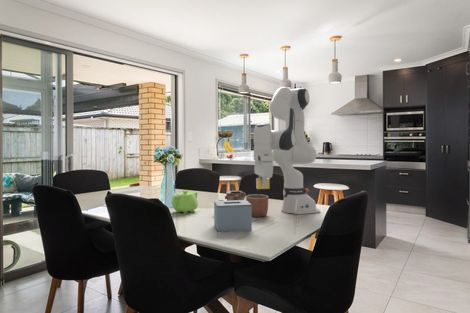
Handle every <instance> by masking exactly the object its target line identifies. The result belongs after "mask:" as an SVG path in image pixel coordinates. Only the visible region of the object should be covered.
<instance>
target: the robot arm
mask: <svg viewBox="0 0 470 313" xmlns="http://www.w3.org/2000/svg"><path fill="white" fill-rule="evenodd" d="M309 103H310V93H309V91H308V90H307V89H306V88H303V87H301V88H294V89H293V88H292V89H290V88H289V87H286V86H281V87H279V88H278V89H277V90H276V91H275V92H274V94H273V95H272V98H271V100H270V104H269V111H270V114H271V116H273V117H274V118H275V119H277V120H281V121H284V122H285V128H284V129H282V130H281V129H278V130H277V129H276V130H272V126H271V124H270V123H268V122H263V123H262V122H261V123H256V124H255V126H254V129H253V145H254V146H253V161H254V169H253V170H254V174H255V175H257V176H258V178H262V186H266V181H267V178H269V179H271V178H273V173H274V162H275V163H276V164H277V165H278V166H279V167H280V169H281V171H282V173H283V174H282V175H283V186H284V187H283V190H282V191H283V192H282V194H283V201H282V202H283V203H282V206H281V209H280V210H281V212H283V213H287V214H288V213H289V214H295V215H307V214H317V213H321V209H319V208H318V207H317V204H316V200H314V199H313V198H312V197H311V196H309V195H308V193H309V192H310V189H309V188H307V187H306V188H305V187H304V174H303V173H302V172H301V171H300V170H298V169H295V167H294V165H308V164H312V163H313V164H314V162H315V160H316V159H317V151H316V149H315V148H314V147H313V146H312V145H311V143H309V142H308V140H307V139H306V135H305V111H304V110H305V109H306V107H307V106H308V105H309Z"/></svg>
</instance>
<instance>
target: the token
mask: <svg viewBox="0 0 470 313" xmlns="http://www.w3.org/2000/svg"><path fill="white" fill-rule="evenodd" d="M255 183H256V184H255V186H256V187H255V188H256V190H269V189H270V178H267V181H266V186H262V178H259V177H256V178H255Z"/></svg>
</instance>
